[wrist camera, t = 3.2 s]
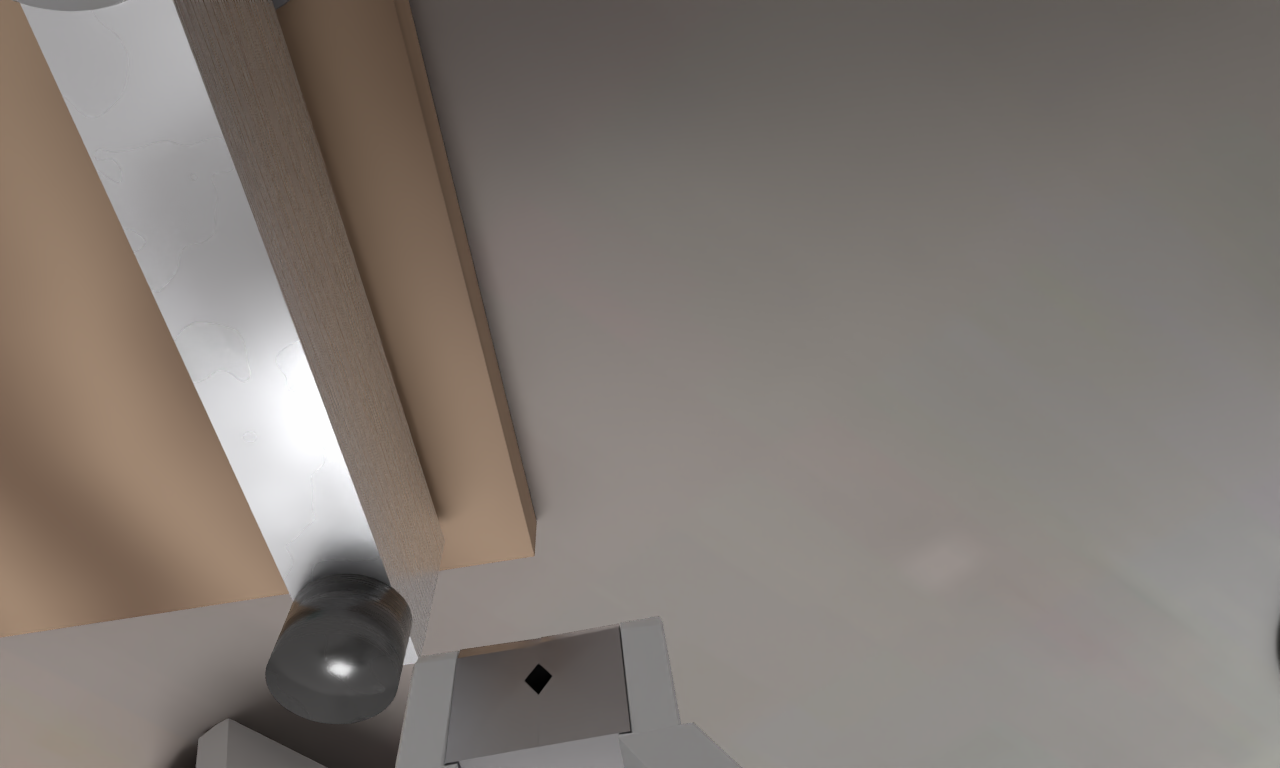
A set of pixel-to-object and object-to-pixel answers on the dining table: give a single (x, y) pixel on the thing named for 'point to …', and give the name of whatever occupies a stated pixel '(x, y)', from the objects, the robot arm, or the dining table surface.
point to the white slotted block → (245, 750)
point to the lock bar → (263, 320)
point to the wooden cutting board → (155, 372)
